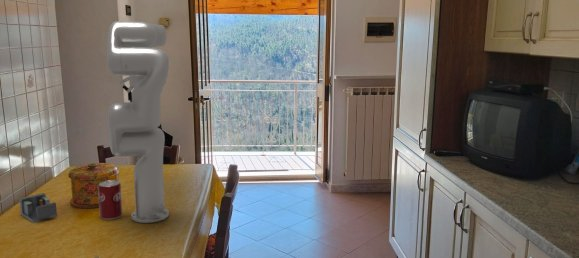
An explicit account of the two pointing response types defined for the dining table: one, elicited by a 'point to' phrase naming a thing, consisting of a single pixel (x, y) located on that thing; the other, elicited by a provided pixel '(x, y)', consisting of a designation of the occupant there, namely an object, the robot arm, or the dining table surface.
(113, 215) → the soda can
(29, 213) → the grey desk caddy
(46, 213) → the blue-grey small box
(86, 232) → the dining table surface
